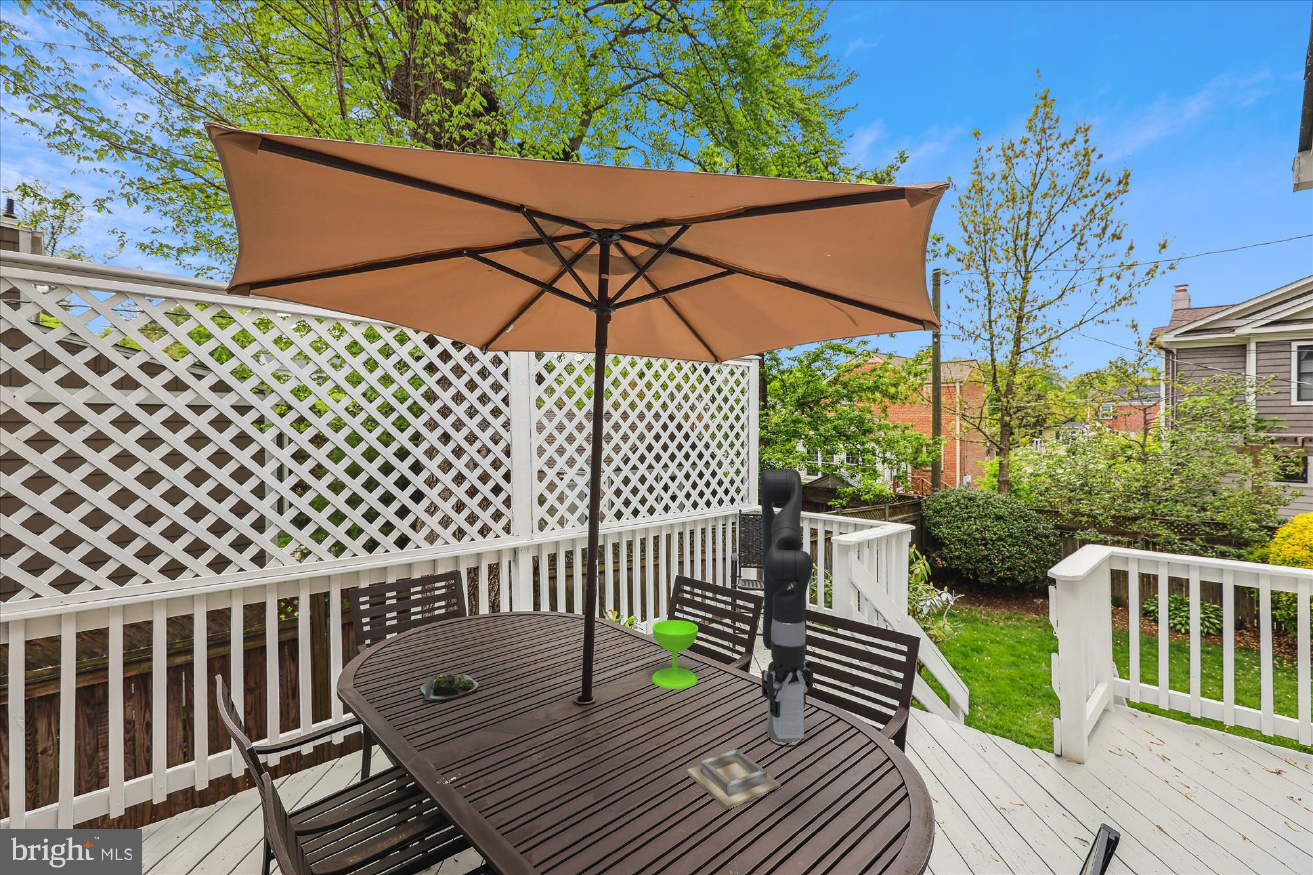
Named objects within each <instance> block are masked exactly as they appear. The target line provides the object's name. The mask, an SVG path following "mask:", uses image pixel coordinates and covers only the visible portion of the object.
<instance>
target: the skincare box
mask: <svg viewBox="0 0 1313 875" xmlns="http://www.w3.org/2000/svg"><path fill="white" fill-rule="evenodd" d="M775 683H776V685H777V686H781V685H782V684H780V683H779V682H778V681H776V682H775ZM776 693H777V689H776V691H775V693H774V694H775V695H776ZM779 701H780V717H779V718H776V717H774V716H773V729H774V731H775V733H776V735H777V737H778V739H786V738H803V739H804V738H805V708H804V685H803V683H802V682H799V681H796V682H793V683H789V684H788V685H787V687H786V690H785V692H783V693H782V695H781V697H780V700H779Z"/></svg>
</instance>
